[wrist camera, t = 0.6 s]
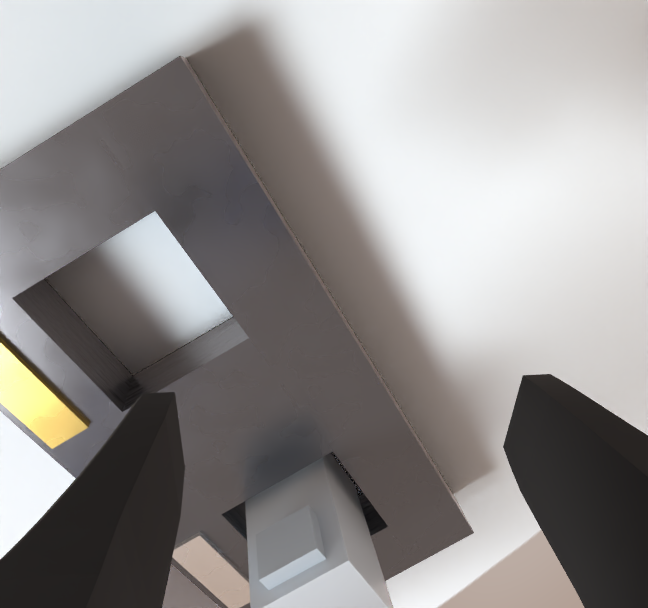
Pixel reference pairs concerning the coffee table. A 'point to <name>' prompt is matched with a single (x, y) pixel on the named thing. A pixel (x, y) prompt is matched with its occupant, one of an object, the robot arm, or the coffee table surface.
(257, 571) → the plug
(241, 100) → the coffee table surface
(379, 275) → the coffee table surface
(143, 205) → the panel
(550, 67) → the coffee table surface
